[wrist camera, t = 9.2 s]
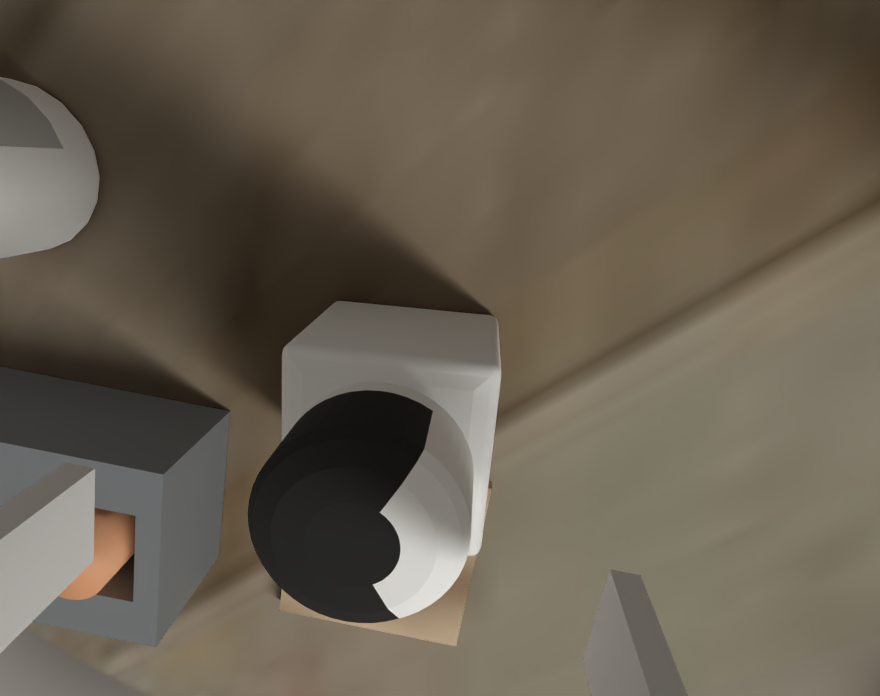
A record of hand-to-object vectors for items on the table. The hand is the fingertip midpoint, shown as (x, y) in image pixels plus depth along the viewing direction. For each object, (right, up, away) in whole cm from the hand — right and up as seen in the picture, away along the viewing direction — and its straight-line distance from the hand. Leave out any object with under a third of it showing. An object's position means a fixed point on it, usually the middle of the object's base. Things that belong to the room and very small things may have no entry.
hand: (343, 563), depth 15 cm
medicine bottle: (+1, +4, +12) cm, 13 cm away
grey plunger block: (-14, 0, +14) cm, 20 cm away
